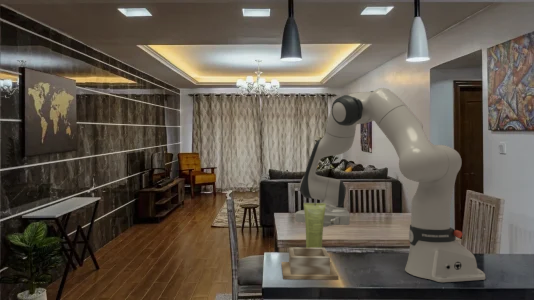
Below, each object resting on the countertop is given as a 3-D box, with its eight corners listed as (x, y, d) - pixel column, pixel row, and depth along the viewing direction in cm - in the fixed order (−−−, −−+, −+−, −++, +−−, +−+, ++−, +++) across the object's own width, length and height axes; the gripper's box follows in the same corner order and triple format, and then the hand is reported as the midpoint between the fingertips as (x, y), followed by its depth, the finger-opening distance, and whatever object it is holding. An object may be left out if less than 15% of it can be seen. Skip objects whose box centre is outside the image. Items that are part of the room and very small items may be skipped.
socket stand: (331, 265, 138) (331, 246, 138) (338, 279, 124) (338, 258, 124) (281, 264, 138) (281, 246, 138) (283, 279, 124) (283, 258, 124)
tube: (313, 258, 146) (313, 201, 145) (325, 261, 142) (326, 202, 142) (302, 261, 142) (303, 202, 141) (315, 264, 138) (315, 204, 138)
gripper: (298, 205, 169) (291, 211, 156) (351, 207, 164) (348, 213, 151) (298, 221, 169) (291, 228, 156) (350, 224, 164) (348, 231, 151)
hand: (319, 221), depth 153 cm, fingers open, 8 cm apart
